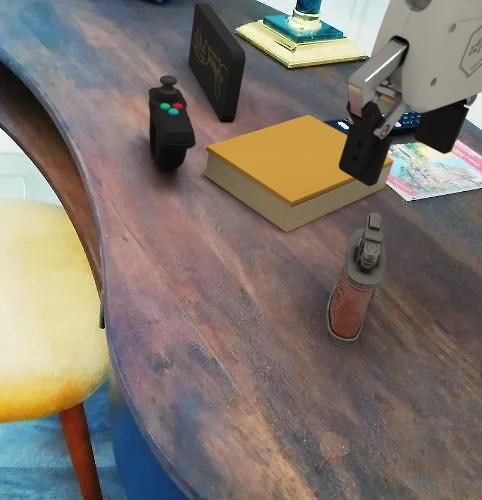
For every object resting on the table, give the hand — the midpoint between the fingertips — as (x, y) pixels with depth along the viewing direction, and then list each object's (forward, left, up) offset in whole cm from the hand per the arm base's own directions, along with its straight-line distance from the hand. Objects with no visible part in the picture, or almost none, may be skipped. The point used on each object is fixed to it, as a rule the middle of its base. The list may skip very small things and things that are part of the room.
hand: (395, 160), depth 50 cm
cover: (-14, -19, -13) cm, 27 cm away
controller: (-2, -29, -17) cm, 34 cm away
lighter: (0, 0, -17) cm, 17 cm away
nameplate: (-22, -44, -17) cm, 52 cm away
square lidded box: (-14, -19, -17) cm, 29 cm away
